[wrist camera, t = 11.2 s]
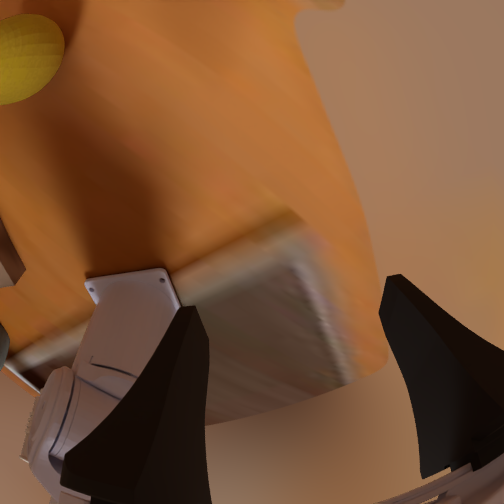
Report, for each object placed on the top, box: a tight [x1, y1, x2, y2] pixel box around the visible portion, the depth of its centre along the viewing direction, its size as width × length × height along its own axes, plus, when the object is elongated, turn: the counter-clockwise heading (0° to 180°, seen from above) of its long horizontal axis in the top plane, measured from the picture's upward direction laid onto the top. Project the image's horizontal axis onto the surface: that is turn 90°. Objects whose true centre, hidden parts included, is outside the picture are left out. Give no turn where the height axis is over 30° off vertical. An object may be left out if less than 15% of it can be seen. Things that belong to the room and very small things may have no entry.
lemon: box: [0, 14, 65, 105], centre depth 8 cm, size 6×6×8 cm
